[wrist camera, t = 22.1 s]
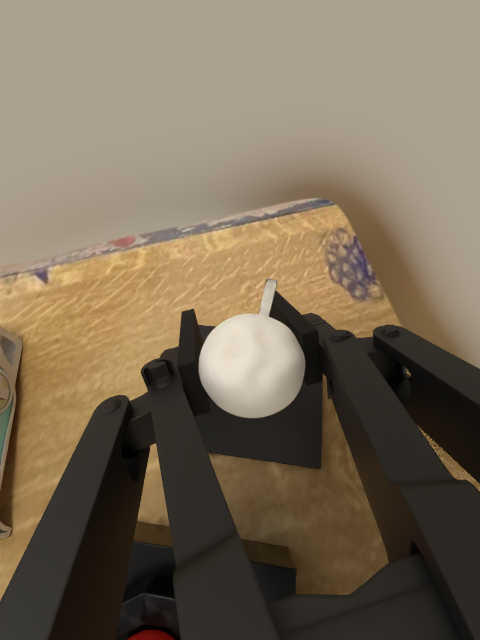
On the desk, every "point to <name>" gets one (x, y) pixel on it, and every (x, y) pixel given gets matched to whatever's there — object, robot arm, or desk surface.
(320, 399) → the mouse pad
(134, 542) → the button box
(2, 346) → the handheld gaming console
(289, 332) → the milkshake
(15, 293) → the desk surface
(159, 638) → the button
